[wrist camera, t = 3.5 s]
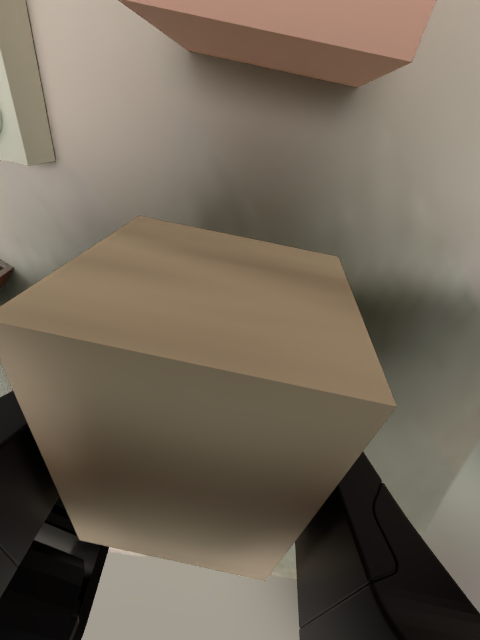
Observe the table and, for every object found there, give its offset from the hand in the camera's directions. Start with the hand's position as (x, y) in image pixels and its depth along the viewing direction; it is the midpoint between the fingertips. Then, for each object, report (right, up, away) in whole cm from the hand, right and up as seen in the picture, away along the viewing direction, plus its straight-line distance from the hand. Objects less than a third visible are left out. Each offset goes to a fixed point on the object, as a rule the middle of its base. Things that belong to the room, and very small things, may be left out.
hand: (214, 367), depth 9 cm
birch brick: (0, +1, +1) cm, 1 cm away
